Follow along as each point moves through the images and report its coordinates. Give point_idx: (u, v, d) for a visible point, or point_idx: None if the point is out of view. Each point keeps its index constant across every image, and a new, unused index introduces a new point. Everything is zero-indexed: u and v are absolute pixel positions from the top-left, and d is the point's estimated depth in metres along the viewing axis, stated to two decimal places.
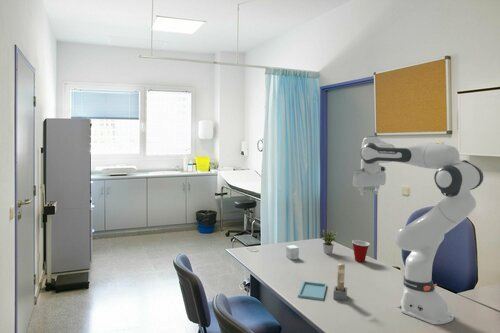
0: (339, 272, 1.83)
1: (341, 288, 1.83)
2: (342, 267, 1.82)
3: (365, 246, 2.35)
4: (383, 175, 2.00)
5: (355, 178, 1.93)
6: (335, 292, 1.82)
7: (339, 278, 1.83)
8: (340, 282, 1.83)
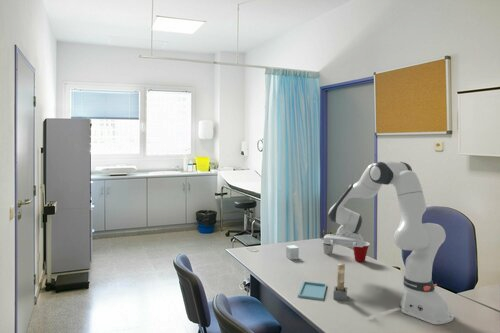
0: (339, 272, 1.83)
1: (341, 288, 1.83)
2: (342, 267, 1.82)
3: (365, 246, 2.35)
4: (359, 237, 2.02)
5: None
6: (335, 292, 1.82)
7: (339, 278, 1.83)
8: (340, 282, 1.83)
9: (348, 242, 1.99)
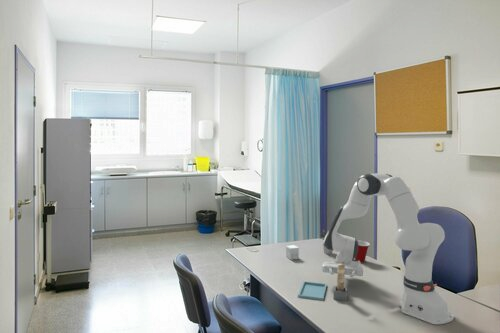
0: (339, 272, 1.83)
1: (341, 288, 1.83)
2: (342, 267, 1.82)
3: (365, 246, 2.35)
4: (358, 265, 1.98)
5: None
6: (335, 292, 1.82)
7: (339, 278, 1.83)
8: (340, 282, 1.83)
9: (348, 271, 1.95)
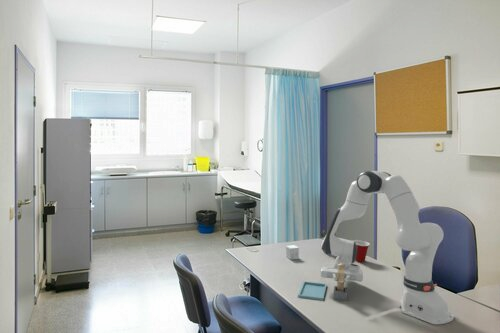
0: (339, 272, 1.83)
1: (341, 288, 1.83)
2: (342, 267, 1.82)
3: (365, 246, 2.35)
4: (358, 270, 1.90)
5: None
6: (335, 292, 1.82)
7: (339, 278, 1.83)
8: (340, 282, 1.83)
9: (347, 276, 1.88)
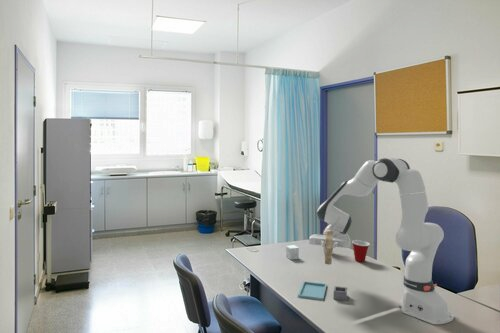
0: (327, 238, 1.85)
1: (329, 253, 1.85)
2: (330, 233, 1.84)
3: (365, 246, 2.35)
4: (346, 237, 1.92)
5: None
6: (335, 292, 1.82)
7: (327, 244, 1.85)
8: (327, 247, 1.85)
9: (335, 243, 1.90)
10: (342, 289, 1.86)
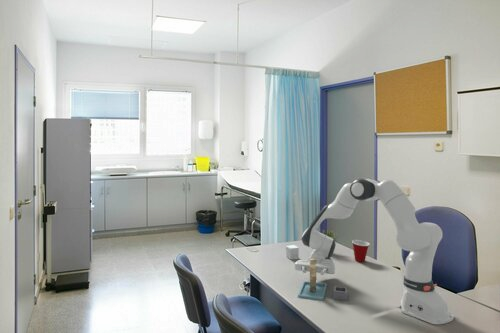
0: (311, 267, 1.90)
1: (313, 282, 1.90)
2: (314, 262, 1.89)
3: (365, 246, 2.35)
4: (331, 263, 1.97)
5: None
6: (335, 292, 1.82)
7: (311, 272, 1.90)
8: (312, 276, 1.90)
9: (319, 269, 1.94)
10: (342, 289, 1.86)
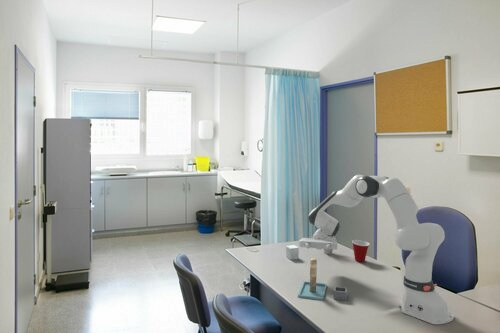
0: (311, 267, 1.89)
1: (313, 282, 1.90)
2: (314, 262, 1.89)
3: (365, 246, 2.35)
4: (333, 239, 2.08)
5: None
6: (335, 292, 1.82)
7: (311, 272, 1.90)
8: (312, 276, 1.90)
9: (323, 245, 2.06)
10: (342, 289, 1.86)
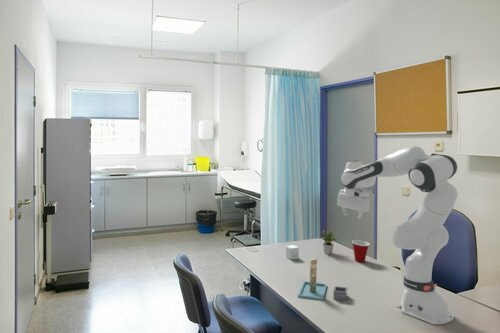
0: (311, 267, 1.89)
1: (313, 282, 1.90)
2: (314, 262, 1.89)
3: (365, 246, 2.35)
4: (361, 201, 1.95)
5: None
6: (335, 292, 1.82)
7: (311, 272, 1.90)
8: (312, 276, 1.90)
9: None
10: (342, 289, 1.86)
